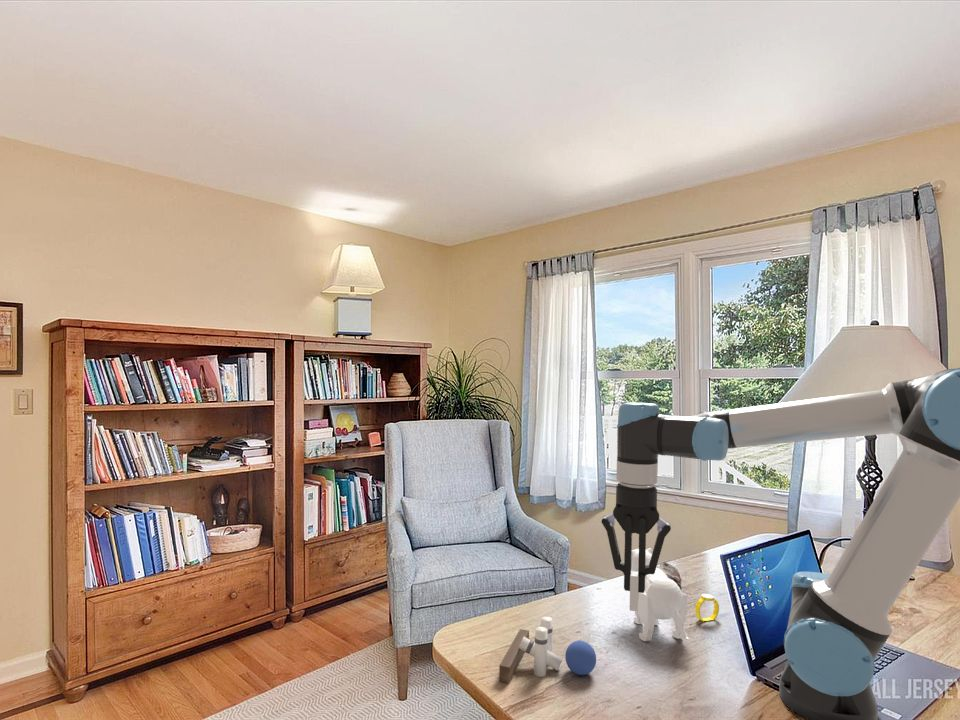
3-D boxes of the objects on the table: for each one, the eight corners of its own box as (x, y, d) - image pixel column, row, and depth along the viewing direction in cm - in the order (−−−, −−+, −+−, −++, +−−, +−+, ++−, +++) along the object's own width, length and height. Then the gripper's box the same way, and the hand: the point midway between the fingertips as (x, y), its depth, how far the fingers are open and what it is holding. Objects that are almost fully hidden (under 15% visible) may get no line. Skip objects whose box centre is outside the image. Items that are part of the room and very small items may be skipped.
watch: (712, 617, 138) (714, 593, 139) (720, 622, 136) (722, 597, 136) (692, 618, 137) (694, 593, 137) (699, 623, 134) (701, 598, 134)
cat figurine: (710, 657, 118) (712, 577, 119) (666, 663, 116) (668, 581, 116) (646, 607, 143) (647, 541, 143) (608, 611, 140) (609, 543, 140)
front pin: (563, 656, 112) (524, 633, 114) (559, 667, 110) (519, 644, 113) (560, 661, 114) (522, 639, 116) (556, 673, 112) (517, 650, 114)
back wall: (528, 644, 122) (529, 630, 122) (509, 683, 107) (509, 667, 107) (519, 642, 123) (520, 628, 123) (499, 681, 107) (499, 665, 108)
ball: (556, 658, 113) (579, 682, 112) (562, 657, 108) (586, 682, 106) (575, 634, 116) (598, 658, 114) (581, 632, 111) (605, 656, 109)
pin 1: (553, 661, 115) (555, 620, 115) (545, 665, 114) (546, 623, 114) (545, 656, 117) (546, 615, 117) (536, 660, 116) (538, 618, 115)
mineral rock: (670, 597, 150) (671, 580, 150) (642, 589, 155) (642, 573, 155) (690, 582, 161) (690, 566, 161) (662, 575, 166) (663, 560, 166)
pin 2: (549, 674, 110) (550, 630, 110) (539, 678, 109) (540, 633, 109) (540, 668, 112) (541, 625, 112) (530, 672, 111) (532, 628, 111)
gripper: (672, 483, 110) (669, 605, 109) (603, 477, 114) (601, 595, 113) (672, 490, 102) (670, 622, 102) (599, 484, 107) (596, 610, 106)
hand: (633, 608), depth 108 cm, fingers closed
